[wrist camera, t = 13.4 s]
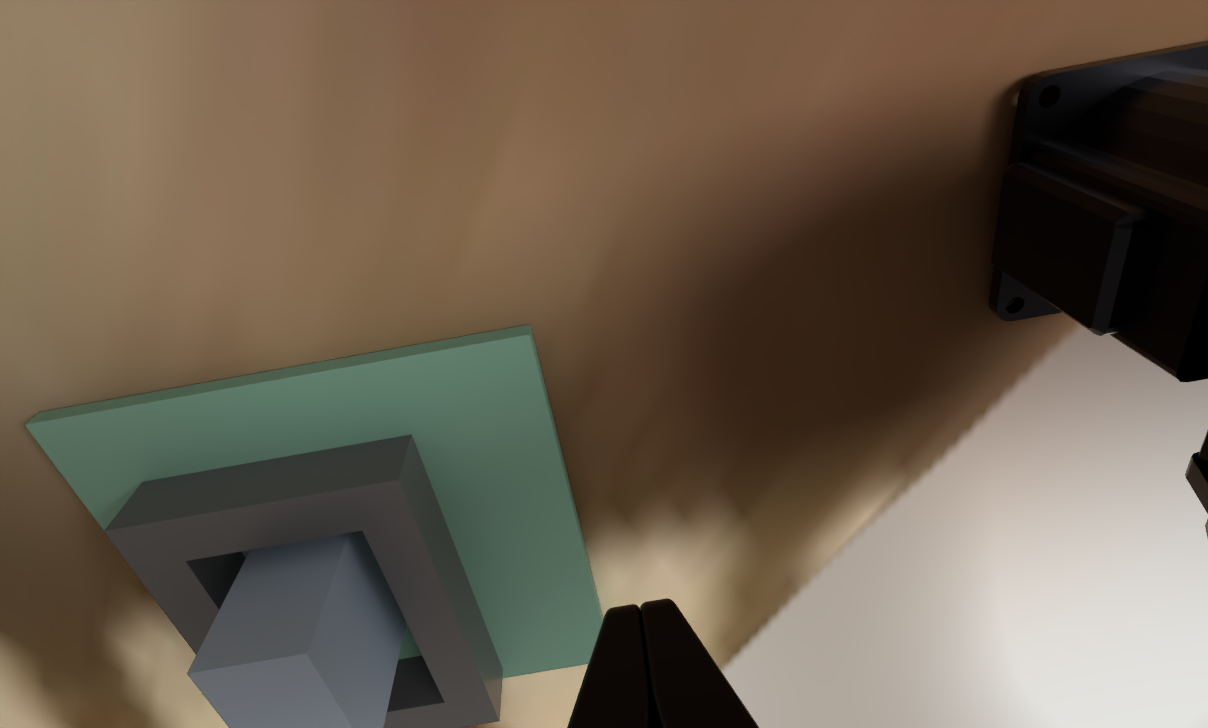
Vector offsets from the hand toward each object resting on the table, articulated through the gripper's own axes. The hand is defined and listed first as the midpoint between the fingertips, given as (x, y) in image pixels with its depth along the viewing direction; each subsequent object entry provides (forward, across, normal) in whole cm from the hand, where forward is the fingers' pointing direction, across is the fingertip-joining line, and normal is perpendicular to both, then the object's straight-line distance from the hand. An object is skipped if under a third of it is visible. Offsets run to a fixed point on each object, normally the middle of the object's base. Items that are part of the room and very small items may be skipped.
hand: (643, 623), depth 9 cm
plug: (+10, +10, +8) cm, 17 cm away
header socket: (+11, +10, +9) cm, 17 cm away
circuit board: (+11, +9, +8) cm, 16 cm away
